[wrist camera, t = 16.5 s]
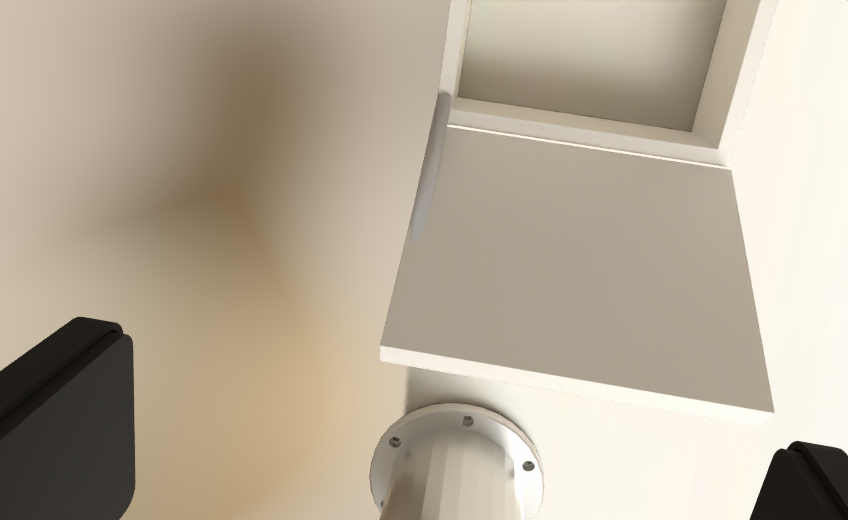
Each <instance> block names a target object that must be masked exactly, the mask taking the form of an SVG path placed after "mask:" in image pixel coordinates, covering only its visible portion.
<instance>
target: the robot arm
mask: <svg viewBox="0 0 848 520" xmlns="http://www.w3.org/2000/svg"><path fill="white" fill-rule="evenodd" d="M133 373H134V372H133V341H132V339H131V337H130V336H129V335H126V334H123V330H122V328H121V326H120V325H119V324H118V323H115V322H109V321H102V320H97V319H92V318H86V317H77V318H74V319H72V320H71V321H70V322H68V323H67V324H65V325H64V326H63V327H61V328H60V329H58V330H57V331H56V332H54V333H53V334H51V335H50V336H49V337H47V338H46V339H44V340H43V341H42V342H40V343H39V344H38V345H36V346H35V347H33V348H32V349H30V350H29V351H28V352H26V353H25V354H24V355H22V356H21V357H19V358H18V359H17V360H15V361H14V362H12V363H11V364H10V365H8V366H7V367H5V368H4V369H3V370H1V371H0V520H119V519H120V518H121V517H122V515H123V514H124V513H125V511H126V510H127V508H128V507H129V504H130V503H131V500H132V497H133V494H134V490H135V435H134V434H135V433H134V377H133V376H134V375H133ZM467 416H470V417H467ZM370 486H371V492H372V495H373V498H374V501H375V504H376V505H377V507H378V509H379V511H380V513H381V516H380V520H534V519H535V518H536V516H537V514H538V512H539V509H540V507H541V504H542V501H543V493H544V477H543V470H542V465H541V461H540V458H539V456H538V454H537V452H536V450H535V447H534V445H533V444H532V443H531V441H530V440H529V439H528V438H527V436H526V435H525V434H524V433H523V432H522V431H521V430H520V429H519V428H518V427H517V426H516V425H514V424H513V423H512V422H511V421H509V420H507V419H506V418H504V417H502V416H501V415H499V414H497V413H495V412H492V411H490V410H487V409H485V408H482V407H478V406H473V405H469V404H459V403H444V404H435V405H430V406H427V407H423V408H420V409H417V410H415V411H413V412H411V413H409V414H407V415H405V416H403V417H401V418H400V419H399V420H398V421H396V422H395V423H394V424H393V425H391V426H390V427H389V429H388V430H387V431H386V432H385V434H384V435H383V436H382V437H381V439H380V441H379V443H378V445H377V447H376V449H375V452H374V456H373V459H372V462H371V469H370ZM750 520H848V455H847V454H846V453H845V452H844V451H843V450H842V449H839V448H835V447H829V446H824V445H818V444H812V443H806V442H801V441H795V442H793V443H791V444H790V446H789V447H788V448H787V450H786V449H779V450H777V452H776V453H775V454H774V456H773V458H772V461H771V463H770V466H769V469H768V471H767V474H766V477H765V480H764V482H763V485H762V488H761V490H760V493H759V496H758V498H757V501H756V504H755V506H754V509H753V512H752V515H751V517H750Z"/></svg>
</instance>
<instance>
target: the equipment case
mask: <svg viewBox="0 0 848 520" xmlns="http://www.w3.org/2000/svg"><path fill="white" fill-rule="evenodd" d="M777 2H778V0H727V1H726V5H725V9H724V12H723V16H722V20H721V24H720V27H719V31H718V35H717V38H716V42H715V46H714V50H713V53H712V57H711V61H710V64H709V68H708V72H707V76H706V79H705V83H704V87H703V90H702V94H701V98H700V102H699V105H698V109H697V113H696V117H695V120H694V124H693V128H692V131H691V132H687V131H681V130H674V129H667V128H661V127H654V126H647V125H641V124H634V123H627V122H621V121H614V120H607V119H601V118H594V117H587V116H581V115H574V114H567V113H561V112H554V111H547V110H541V109H534V108H527V107H521V106H514V105H507V104H501V103H494V102H487V101H481V100H474V99H467V98H461V97H458V91H459V84H460V77H461V71H462V64H463V57H464V50H465V44H466V37H467V30H468V23H469V16H470V10H471V3H472V0H451V3H450V10H449V17H448V24H447V32H446V39H445V46H444V53H443V60H442V68H441V76H440V82H439V90H438V97H437V101H436V106H435V111H434V115H433V120H432V125H431V129H430V134H429V138H428V143H427V148H426V153H425V157H424V161H423V166H422V170H421V175H420V179H419V184H418V188H417V193H416V198H415V202H414V207H413V210H412V215H411V219H410V223H409V228H408V231H407V235H406V240H405V244H404V248H403V252H402V257H401V261H400V265H399V269H398V273H397V277H396V281H395V286H394V290H393V294H392V298H391V302H390V307H389V310H388V315H387V319H386V323H385V327H384V332H383V335H382V340H381V344H380V361H382V362H388V363H393V364H399V365H405V366H411V367H417V368H422V369H428V370H434V371H440V372H446V373H451V374H457V375H463V376H469V377H474V378H480V379H486V380H492V381H498V382H503V383H509V384H515V385H521V386H527V387H532V388H538V389H544V390H550V391H555V392H561V393H567V394H573V395H579V396H584V397H590V398H596V399H602V400H608V401H613V402H619V403H625V404H631V405H636V406H642V407H648V408H654V409H660V410H665V411H671V412H677V413H683V414H689V415H694V416H700V417H706V418H712V419H717V420H723V421H729V422H735V423H741V424H746V425H752V426H758V427H762V426H763V425H764V424H765V423H766V421H767V420H768V419H769V418H770V417H771V416H772V415H773V414H774V407H773V402H772V396H771V391H770V385H769V379H768V374H767V368H766V363H765V357H764V352H763V346H762V340H761V335H760V329H759V324H758V318H757V312H756V307H755V301H754V296H753V290H752V284H751V279H750V273H749V268H748V262H747V257H746V251H745V245H744V240H743V234H742V229H741V223H740V217H739V212H738V206H737V201H736V195H735V189H734V184H733V178H732V173H731V170H726V169H720V168H713V167H707V166H700V165H694V164H687V163H680V162H674V161H667V160H661V159H654V158H648V157H641V156H635V155H628V154H622V153H615V152H608V151H602V150H595V149H589V148H582V147H576V146H569V145H563V144H556V143H549V142H543V141H536V140H530V139H523V138H517V137H510V136H504V135H497V134H490V133H484V132H477V131H471V130H464V129H458V128H451V127H447V124H450V125H456V126H463V127H470V128H476V129H483V130H489V131H496V132H502V133H509V134H515V135H522V136H529V137H535V138H542V139H548V140H555V141H561V142H568V143H575V144H581V145H588V146H594V147H601V148H607V149H614V150H620V151H627V152H634V153H640V154H647V155H653V156H660V157H666V158H673V159H680V160H686V161H693V162H699V163H706V164H712V165H719V166H725V167H729V166H730V163H731V159H732V156H733V152H734V149H735V146H736V142H737V139H738V135H739V132H740V128H741V125H742V122H743V118H744V115H745V111H746V108H747V105H748V101H749V98H750V94H751V91H752V88H753V84H754V81H755V77H756V74H757V70H758V67H759V64H760V60H761V57H762V53H763V50H764V47H765V43H766V40H767V36H768V33H769V30H770V26H771V23H772V19H773V16H774V13H775V9H776V6H777Z"/></svg>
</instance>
